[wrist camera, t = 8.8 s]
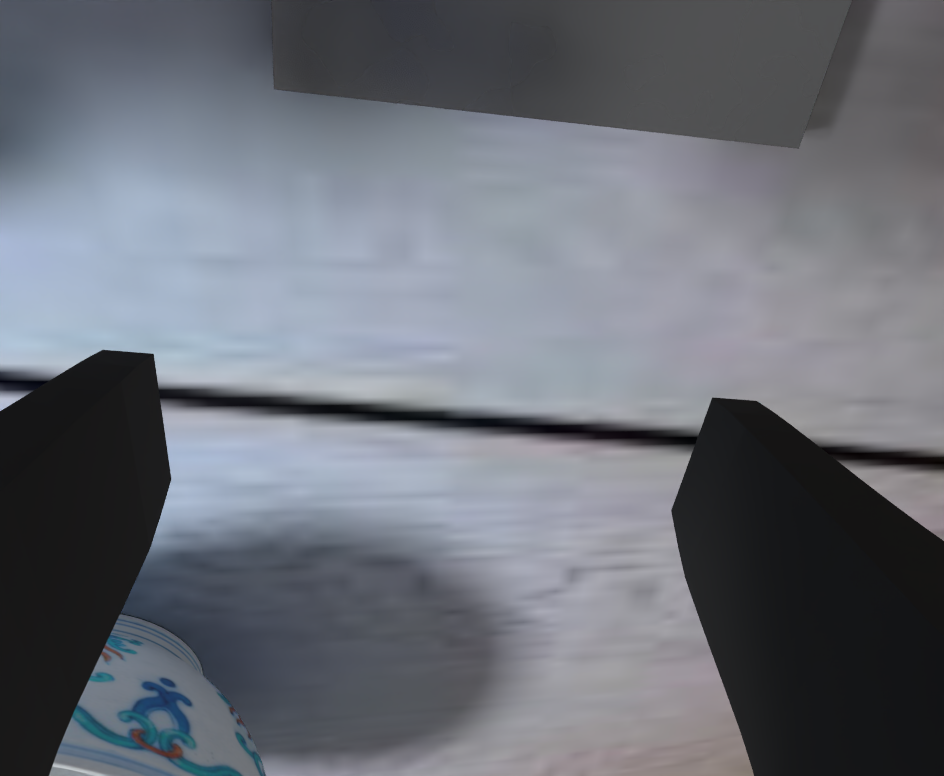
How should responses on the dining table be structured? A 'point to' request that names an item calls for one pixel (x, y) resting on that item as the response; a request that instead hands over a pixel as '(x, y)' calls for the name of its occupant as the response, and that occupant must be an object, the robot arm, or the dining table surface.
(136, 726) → the chinaware
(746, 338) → the dining table surface
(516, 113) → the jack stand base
